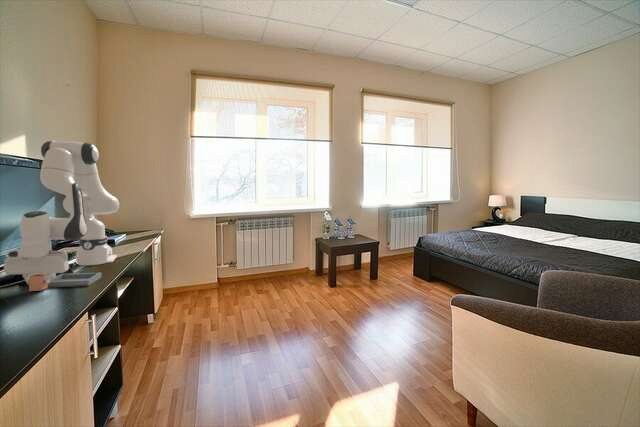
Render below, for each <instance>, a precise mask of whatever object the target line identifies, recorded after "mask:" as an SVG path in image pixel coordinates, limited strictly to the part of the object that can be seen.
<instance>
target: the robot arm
mask: <svg viewBox="0 0 640 427" xmlns="http://www.w3.org/2000/svg"><path fill="white" fill-rule="evenodd" d="M40 153H41V156H42V157H43V159H42V163H41V167H40V168H41V169H40V174H39V179H40V182H41V184H42V185H43V186H44V187H45V188H47V189H49V190H51V191H53V192H56V193H58V194H61V195H64V196H65V198H64V199H63V202H62V206H63V209H64V211H66V212H67V213H69V217H52V216H49V213H48V212H46V211H44V210H43V211H42V210H41V211H40V210H39V211H37V210H36V211H28V212H26V213H24V214H23V215H22V216H21V220H20V236H21V239H22V240H21V244H20V245H21V246H20V247H18V248H16V249H13V250H9V251H7V252H5V253H4V254H5V257H6V258H5V259H4V263H3V272H4V273H5V274H6V275H22V278H23V279H24V281H25V280H27V282H26V285H29V275H31V274H41V273H46V276H47V278H46V279H44V280H43V284H48V283H50V278H51V276H52V275H53V273H56V274H65V273H66V272H68V270H69V269H70V265H69V261H68V260H69V259H68V258H69V256H68V253H67V252H66V251H64V250H53V249H52V240H54V241H57V240H66V241H78V240H79V241H78V244H79V247H78V248H76V256H75V261H77V263H78V266H97V265H98V266H99V265H101V264H102V265H103V264H109V263H113V262H114V261H115V260H116V258H118V255H117V254H113V248H112V246H110V245H108V240H109V237H108V236H106V225H105V224H104V223H103V221H100V220H99V219H96V218H95V216H94V215H110V214H115V213H117V211H118V210H119V208H120V202H119V200H118V198H117V197H116V196H113V195H112V194H110V193H109V192H108V191H107V190H106V188H104V186H103V184H102V183H101V179H100V176H99V171H98V166H97V164H96V163H97V162H98V161H99V158H100V152H99V149H98V147H97V146H96V145H94V144H93V143H89V142H80V141H63V140H62V141H58V140H57V141H56V140H49V141H48V140H47V141H45V142H44V143H43V144H42V145H41V147H40ZM83 192H84V193H85V194H83Z"/></svg>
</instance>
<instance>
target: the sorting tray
mask: <svg viewBox="0 0 640 427" xmlns="http://www.w3.org/2000/svg"><path fill="white" fill-rule="evenodd" d="M101 278H102V272H81V273H79V272H78V273H59V275H56V277H54V278H52V279H50V283H48V287H47V288H48V289H49V288H51V289H52V288H69V287H70V288H72V287H73V288H74V287H89V286H91V285H92V284H95V283H96V282H97V281H99V280H100V279H101ZM47 288H46V289H47Z"/></svg>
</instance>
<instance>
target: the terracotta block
mask: <svg viewBox="0 0 640 427" xmlns="http://www.w3.org/2000/svg"><path fill="white" fill-rule="evenodd" d="M46 278H47V276H46V273H43V274H34V275H31V276H29V284H28V289H29V292H35V291H37V292H38V291H43V290H45V289H47V287H48V284H43V280H44V279H46Z"/></svg>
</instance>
